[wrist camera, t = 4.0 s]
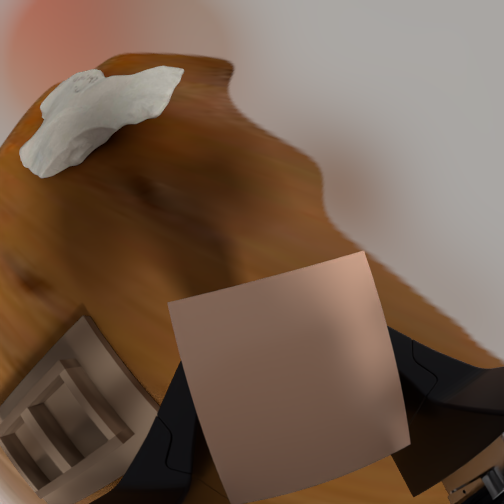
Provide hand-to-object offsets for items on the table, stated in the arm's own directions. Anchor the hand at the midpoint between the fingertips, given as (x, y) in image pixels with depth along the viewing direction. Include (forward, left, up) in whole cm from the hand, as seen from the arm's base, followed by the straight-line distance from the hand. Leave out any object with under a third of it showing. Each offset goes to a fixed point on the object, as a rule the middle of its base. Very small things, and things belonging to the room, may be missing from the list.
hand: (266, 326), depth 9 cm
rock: (+16, +22, -13) cm, 30 cm away
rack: (-14, +14, -12) cm, 24 cm away
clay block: (-1, -1, -7) cm, 7 cm away
